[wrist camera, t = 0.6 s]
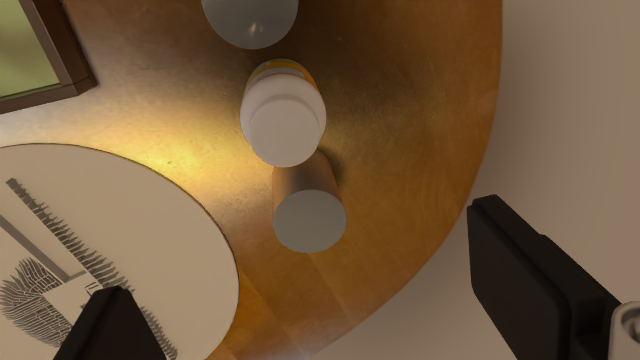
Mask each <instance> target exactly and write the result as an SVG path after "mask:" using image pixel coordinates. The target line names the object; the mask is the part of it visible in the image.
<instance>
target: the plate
mask: <svg viewBox="0 0 640 360" xmlns="http://www.w3.org/2000/svg"><path fill="white" fill-rule="evenodd" d="M115 285H119V286H121V287H122V288H123V289H128V290H129V291H130V292H131V294H132V296H133V298H134V299H135V301H136V303H137V305H138V307H139V308H140V310H141V312H142V314H143V316H144V317H145V319H146V321H147V323H148V325H149V326H150V328H151V330H152V332H153V334H154V335H155V337H156V339H157V341H158V343H159V344H160V346H161V348H162V350H163V352H164V354H165V355H166V358H167V360H204V359H205V358H207V357H208V356H209V355H210V354H211V353H212V352H213V350H214V349H215V348H216V347H217V346H218V345H219V344H220V342H221V341H222V340H223V338H224V336H225V335H226V333H227V331H228V329H229V327H230V325H231V323H232V321H233V318H234V315H235V312H236V308H237V303H238V294H239V281H238V272H237V267H236V263H235V259H234V256H233V252H232V250H231V248H230V246H229V244H228V242H227V240H226V238H225V236H224V234H223V233H222V231H221V229H220V228H219V226H218V225H217V224H216V222H215V221H214V220H213V218H212V217H211V216H210V215H209V213H208V212H207V211H206V210H205V209H204V208H203V206H202V205H201V204H200V203H198V202H197V201H196V200H195V199H194V198H193V197H192V196H190V195H189V194H188V193H187V192H185V191H184V190H183V189H182V188H180V187H179V186H178V185H177V184H175V183H173V182H172V181H170V180H169V179H167V178H165V177H164V176H162V175H161V174H159V173H157V172H155V171H153V170H151V169H150V168H148V167H146V166H144V165H141V164H139V163H136V162H134V161H131V160H129V159H126V158H123V157H120V156H117V155H114V154H111V153H108V152H104V151H100V150H96V149H92V148H86V147H81V146H76V145H68V144H53V143H32V144H21V145H13V146H6V147H0V360H53V358H54V356H55V355H56V353H57V351H58V350H59V348H60V347H61V345H62V343H63V342H64V340H65V338H66V337H67V335H68V333H69V332H70V330H71V328H72V327H73V325H74V323H75V322H76V320H77V318H78V317H79V315H80V314H81V312H82V310H83V309H84V307H85V305H86V304H87V302H88V300H89V299H90V297H91V295H92V294H93V293H94V291H96V290H99V289H103V288H107V287H111V286H115Z"/></svg>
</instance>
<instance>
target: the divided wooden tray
mask: <svg viewBox="0 0 640 360" xmlns="http://www.w3.org/2000/svg"><path fill="white" fill-rule="evenodd" d="M95 86H97V84H96V81H95V79H94V77H93V75H92V73H91V71H90V69H89V66H88V64H87V62H86V60H85V58H84V56H83V54H82V51H81V49H80V47H79V45H78V43H77V41H76V39H75V36H74V34H73V32H72V30H71V28H70V26H69V24H68V21H67V19H66V17H65V15H64V13H63V11H62V9H61V6H60V4H59V2H58V0H0V114H4V113H9V112H13V111H17V110H21V109H25V108H29V107H34V106H38V105H42V104H46V103H50V102H54V101H59V100H63V99H67V98H71V97H75V96H79V95H81V94H82V93H84V92H86V91H88V90H90V89H91V88H93V87H95Z"/></svg>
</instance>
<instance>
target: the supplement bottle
mask: <svg viewBox="0 0 640 360" xmlns="http://www.w3.org/2000/svg"><path fill="white" fill-rule="evenodd" d="M240 124H241V129H242V132H243V134H244V136H245V138H246V140H247V141H248V143H249V144H250V145H251V146H252V148H253V150H254V152H255V153H256V154H257V156H258V157H259V158H261V159H262V160H263V161H265V162H266V163H268V164H271V165H273V166H278V167H292V166H295V165H298V164H300V163H302V162H304V161H305V160H307V159H308V158H309V157H310V156H311V155H312V154H313V153H314V151H315V150H316V148H317V146H318V143H319V141H320V139H321V137H322V135H323V133H324V130H325V127H326V109H325V105H324V102H323V99H322V97H321V95H320V93H319V90H318V88H317V86H316V83H315V81H314V79H313V78H312V76H311V74H310V73H309V72H308V71H307V70H306V69H305V68H304V67H303V66H302V65H300V64H299V63H297V62H295V61H292V60H289V59H282V58H279V59H272V60H269V61H266V62H264V63H262V64H261V65H259V66H258V67H257V68H256V69H255V70H254V71H253V72H252V74H251V75H250V77H249V79H248V81H247V84H246V88H245V92H244V96H243V100H242V104H241V109H240Z"/></svg>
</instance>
